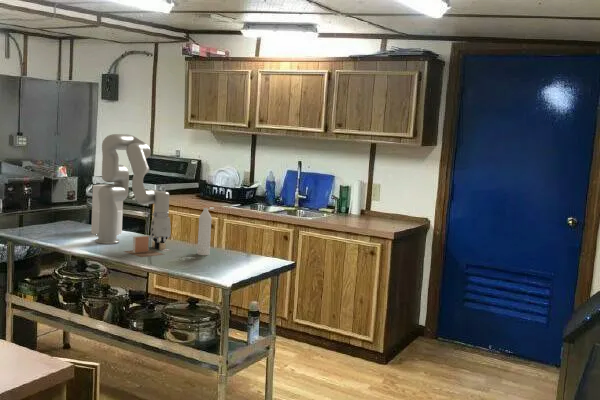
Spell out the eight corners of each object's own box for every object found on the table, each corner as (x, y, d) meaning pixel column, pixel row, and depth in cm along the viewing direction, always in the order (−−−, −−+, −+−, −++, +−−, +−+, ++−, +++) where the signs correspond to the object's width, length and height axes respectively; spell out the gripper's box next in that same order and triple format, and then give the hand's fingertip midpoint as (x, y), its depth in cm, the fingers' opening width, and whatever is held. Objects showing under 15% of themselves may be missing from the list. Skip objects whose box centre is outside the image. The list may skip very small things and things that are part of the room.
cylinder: (91, 230, 379) (93, 183, 376) (121, 230, 385) (123, 185, 382) (91, 235, 363) (92, 187, 360) (122, 235, 368) (124, 188, 365)
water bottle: (203, 256, 327) (205, 209, 325) (194, 254, 331) (197, 207, 329) (215, 254, 334) (217, 208, 331) (206, 252, 338) (209, 206, 335)
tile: (132, 252, 319) (133, 236, 318) (146, 250, 325) (146, 235, 324) (134, 252, 318) (135, 237, 317) (148, 251, 324) (149, 236, 323)
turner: (149, 248, 335) (149, 241, 334) (158, 247, 339) (158, 240, 338) (164, 253, 326) (164, 246, 326) (172, 252, 330) (173, 245, 330)
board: (123, 254, 320) (123, 251, 320) (146, 251, 330) (146, 248, 330) (141, 260, 309) (141, 257, 309) (164, 257, 320) (164, 254, 320)
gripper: (152, 216, 323) (150, 252, 325) (177, 215, 335) (176, 249, 337) (144, 214, 328) (142, 249, 330) (169, 213, 340) (167, 246, 342)
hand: (159, 249), depth 333 cm, fingers closed on turner, 2 cm apart
